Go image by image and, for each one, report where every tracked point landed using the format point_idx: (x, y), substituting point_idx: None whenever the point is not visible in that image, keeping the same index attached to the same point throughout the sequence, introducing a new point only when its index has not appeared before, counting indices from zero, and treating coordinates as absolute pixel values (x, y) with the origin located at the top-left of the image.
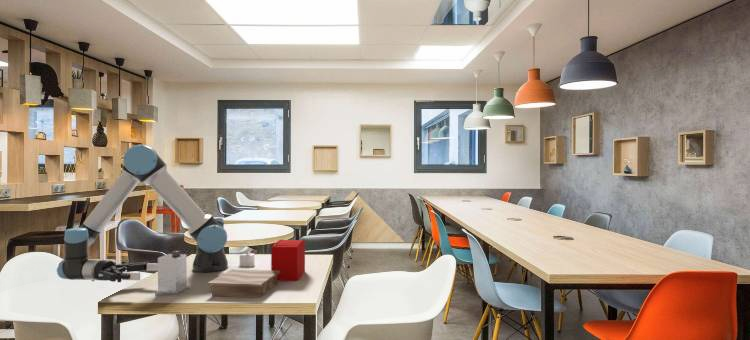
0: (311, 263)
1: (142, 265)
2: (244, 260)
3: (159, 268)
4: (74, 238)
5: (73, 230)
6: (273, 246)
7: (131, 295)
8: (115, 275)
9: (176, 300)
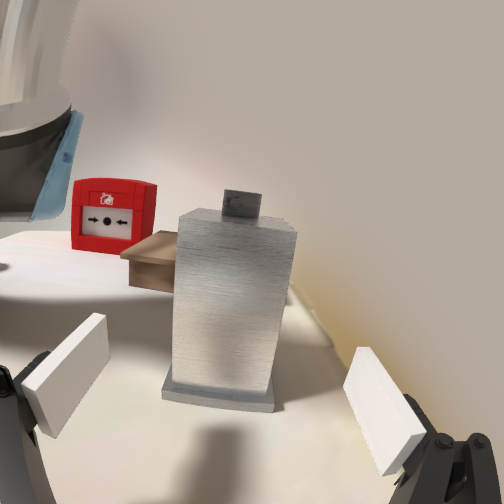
0: (43, 233)
1: (25, 434)
2: None
3: (284, 291)
4: None
5: None
6: (145, 184)
7: (309, 500)
8: (469, 439)
9: (309, 343)
